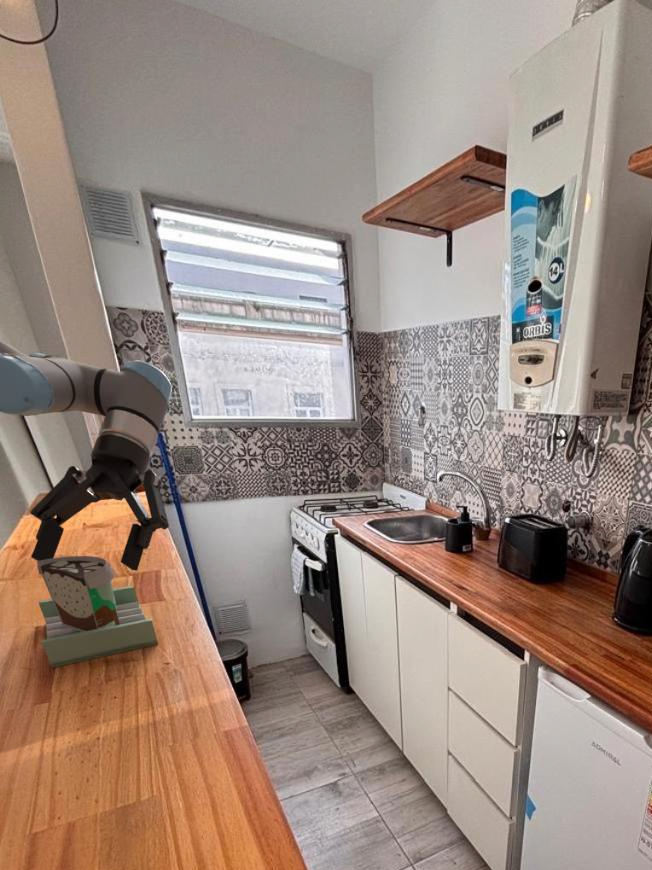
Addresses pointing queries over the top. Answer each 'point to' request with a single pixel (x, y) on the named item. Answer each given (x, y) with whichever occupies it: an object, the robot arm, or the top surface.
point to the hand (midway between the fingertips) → (84, 564)
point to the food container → (81, 591)
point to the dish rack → (98, 632)
